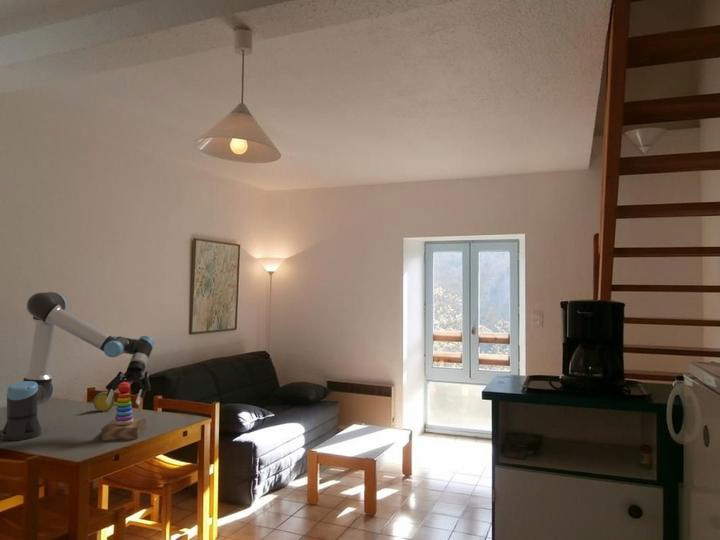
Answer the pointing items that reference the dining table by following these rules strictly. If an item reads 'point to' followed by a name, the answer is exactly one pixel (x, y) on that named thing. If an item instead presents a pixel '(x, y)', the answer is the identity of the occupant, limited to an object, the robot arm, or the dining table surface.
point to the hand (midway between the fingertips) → (122, 403)
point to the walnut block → (123, 430)
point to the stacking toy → (124, 405)
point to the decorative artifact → (102, 402)
